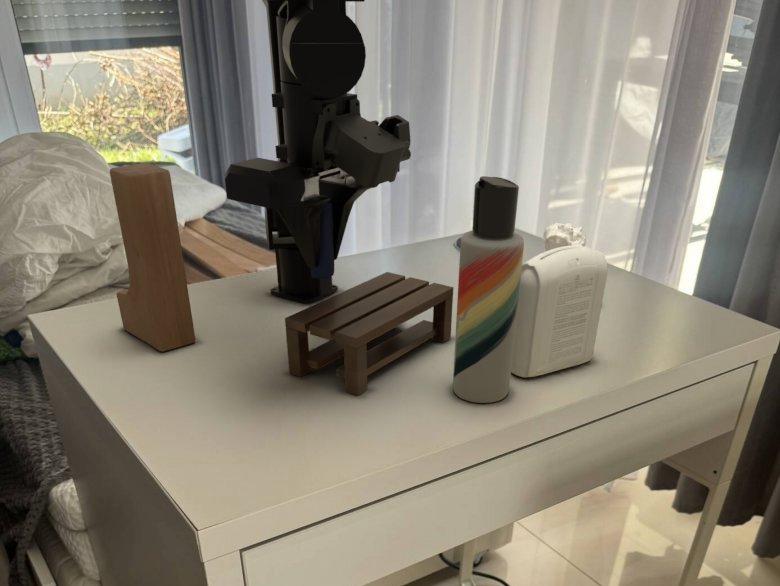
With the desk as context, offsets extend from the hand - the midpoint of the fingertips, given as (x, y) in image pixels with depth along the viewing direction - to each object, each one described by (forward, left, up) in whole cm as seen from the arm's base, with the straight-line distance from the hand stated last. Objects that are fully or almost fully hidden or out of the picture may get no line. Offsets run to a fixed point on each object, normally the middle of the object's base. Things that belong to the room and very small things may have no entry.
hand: (322, 263), depth 76 cm
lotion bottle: (+17, +4, -11) cm, 20 cm away
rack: (+3, +5, -11) cm, 12 cm away
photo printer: (+20, +14, -11) cm, 26 cm away
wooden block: (-20, -5, -11) cm, 24 cm away
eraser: (0, 0, -1) cm, 1 cm away
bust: (+14, +30, -11) cm, 35 cm away
